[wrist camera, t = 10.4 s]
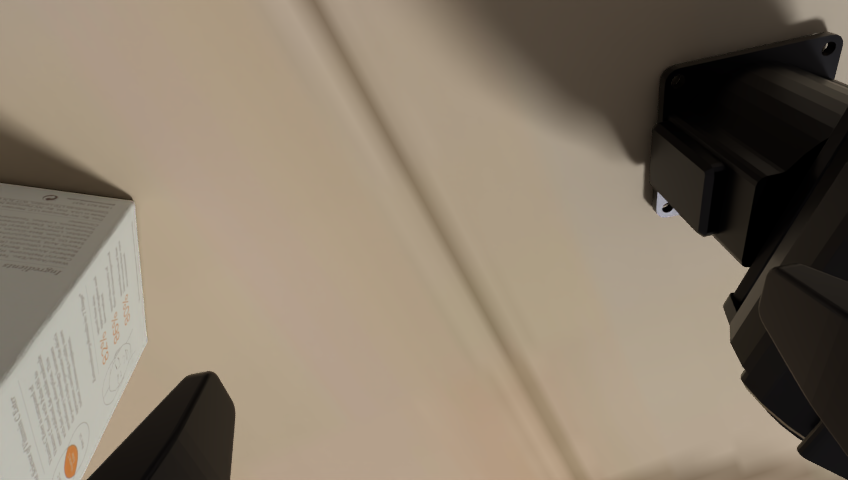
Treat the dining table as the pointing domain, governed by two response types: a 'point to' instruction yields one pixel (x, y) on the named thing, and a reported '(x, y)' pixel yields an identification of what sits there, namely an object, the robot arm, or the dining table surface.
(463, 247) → the dining table surface
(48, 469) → the small box
